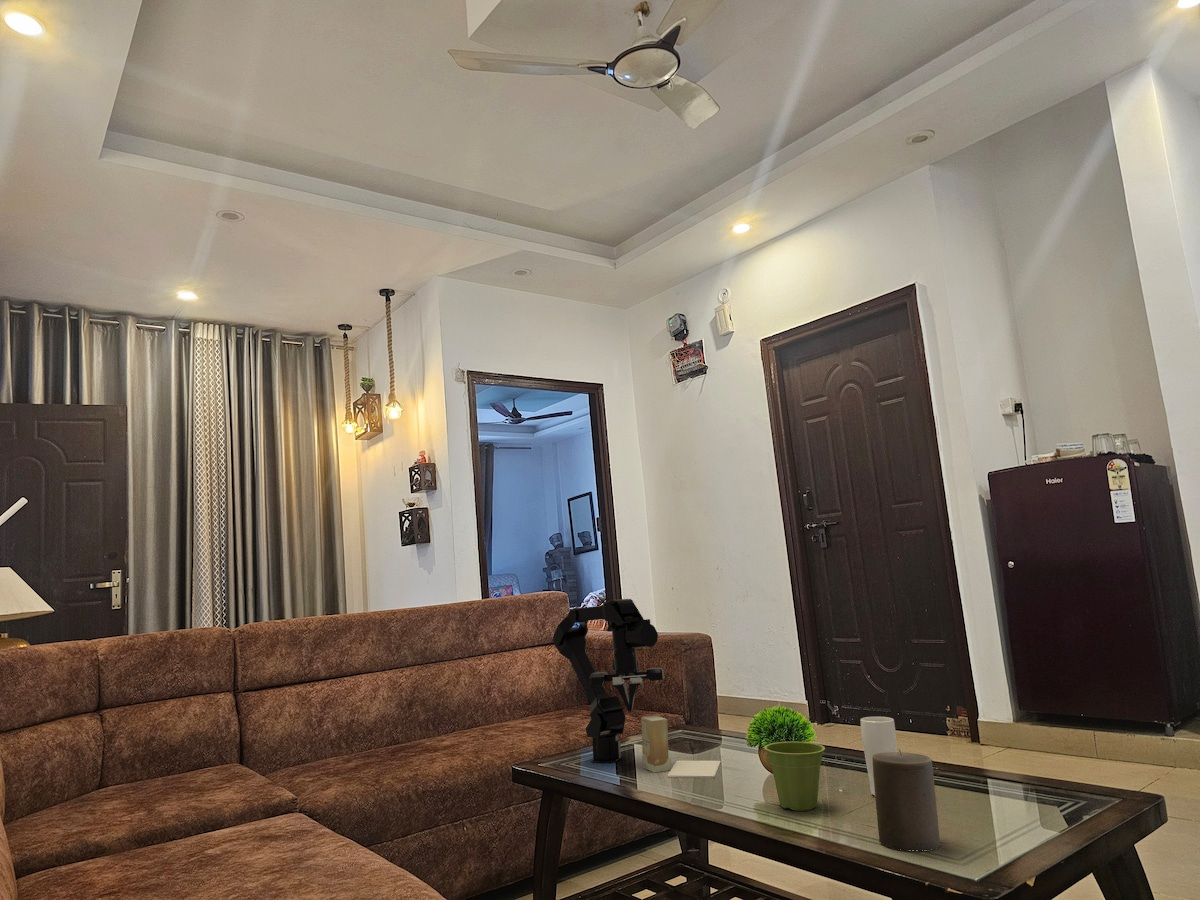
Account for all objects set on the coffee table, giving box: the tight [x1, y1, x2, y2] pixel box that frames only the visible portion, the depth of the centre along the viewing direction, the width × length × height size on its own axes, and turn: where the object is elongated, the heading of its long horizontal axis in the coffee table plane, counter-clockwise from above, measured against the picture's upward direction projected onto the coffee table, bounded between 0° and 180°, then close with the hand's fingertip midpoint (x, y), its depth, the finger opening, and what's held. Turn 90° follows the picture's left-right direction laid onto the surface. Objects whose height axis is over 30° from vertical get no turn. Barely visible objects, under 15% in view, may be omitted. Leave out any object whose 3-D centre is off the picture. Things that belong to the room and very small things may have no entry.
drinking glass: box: [859, 716, 898, 796], centre depth 163 cm, size 7×7×15 cm
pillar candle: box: [872, 748, 941, 851], centre depth 134 cm, size 10×10×15 cm
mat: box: [666, 760, 722, 779], centre depth 192 cm, size 11×16×1 cm
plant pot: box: [764, 741, 826, 812], centre depth 158 cm, size 12×12×11 cm
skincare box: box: [640, 715, 670, 773], centre depth 196 cm, size 6×4×12 cm
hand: (630, 711), depth 201 cm, fingers closed
